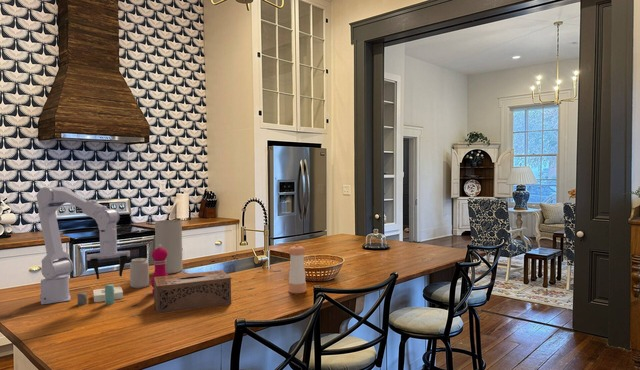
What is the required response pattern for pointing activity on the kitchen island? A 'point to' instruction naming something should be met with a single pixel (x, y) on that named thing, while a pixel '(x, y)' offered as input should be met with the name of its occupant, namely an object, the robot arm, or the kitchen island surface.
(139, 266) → the can
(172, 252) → the cylinder vase
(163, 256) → the pepper mill
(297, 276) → the pepper shaker
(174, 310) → the tissue box cover
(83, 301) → the short dowel
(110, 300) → the long dowel
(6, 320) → the kitchen island surface
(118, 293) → the hole block
